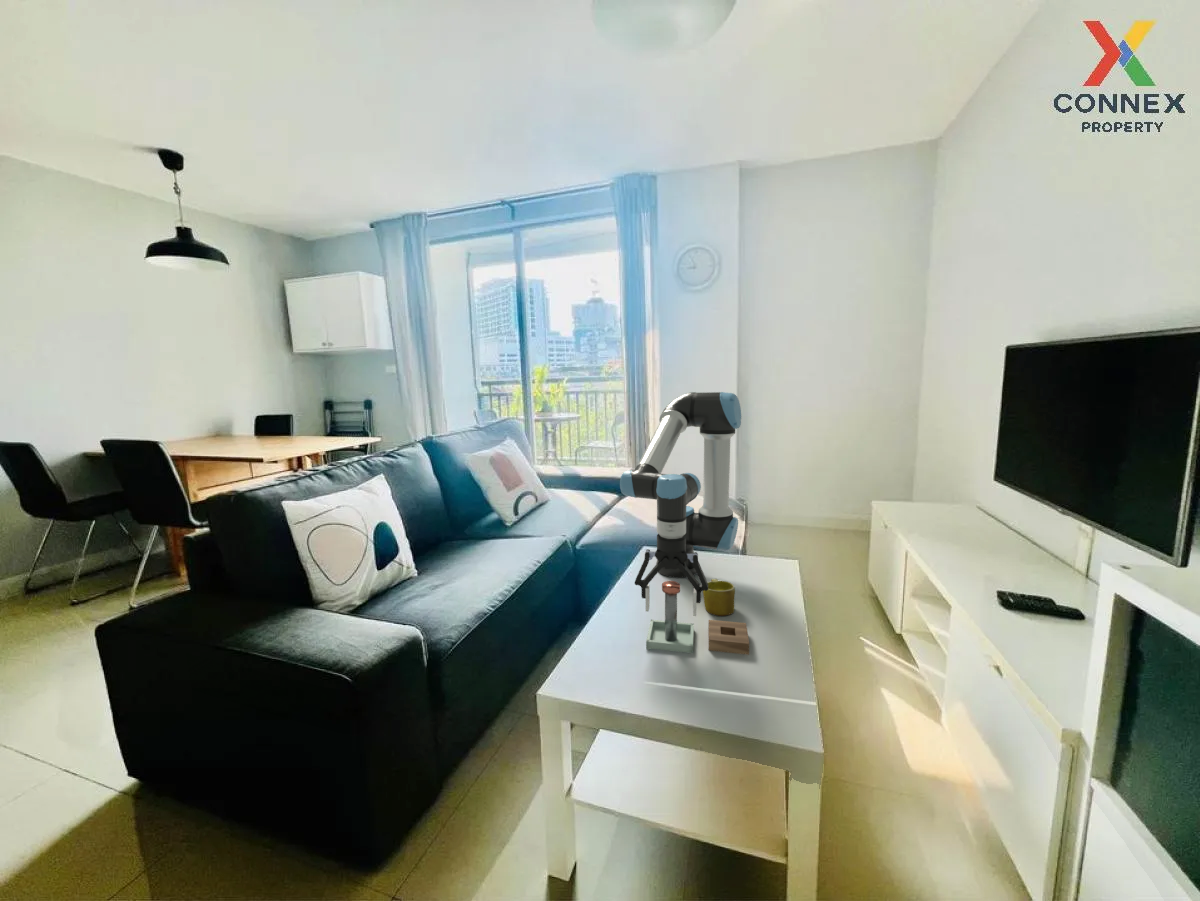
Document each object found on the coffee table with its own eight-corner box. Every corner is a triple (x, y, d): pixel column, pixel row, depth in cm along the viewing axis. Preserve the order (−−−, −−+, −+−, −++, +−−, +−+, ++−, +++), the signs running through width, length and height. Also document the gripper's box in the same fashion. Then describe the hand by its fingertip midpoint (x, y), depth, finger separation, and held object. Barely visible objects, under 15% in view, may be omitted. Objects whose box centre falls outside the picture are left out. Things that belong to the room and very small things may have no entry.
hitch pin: (661, 642, 125) (661, 588, 122) (662, 632, 129) (662, 580, 127) (679, 644, 124) (679, 589, 121) (680, 634, 128) (680, 581, 126)
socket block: (708, 631, 131) (708, 619, 130) (745, 634, 128) (746, 623, 128) (708, 651, 121) (708, 639, 120) (748, 656, 119) (749, 643, 118)
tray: (650, 627, 133) (650, 619, 133) (693, 631, 130) (693, 623, 130) (646, 649, 123) (646, 641, 122) (692, 654, 120) (692, 646, 120)
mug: (742, 616, 135) (731, 582, 136) (707, 623, 137) (697, 589, 138) (741, 603, 146) (731, 572, 147) (709, 610, 149) (699, 579, 150)
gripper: (623, 536, 120) (624, 614, 124) (719, 542, 115) (717, 622, 119) (627, 527, 128) (628, 600, 131) (718, 531, 122) (716, 608, 126)
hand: (670, 611), depth 125 cm, fingers open, 12 cm apart
